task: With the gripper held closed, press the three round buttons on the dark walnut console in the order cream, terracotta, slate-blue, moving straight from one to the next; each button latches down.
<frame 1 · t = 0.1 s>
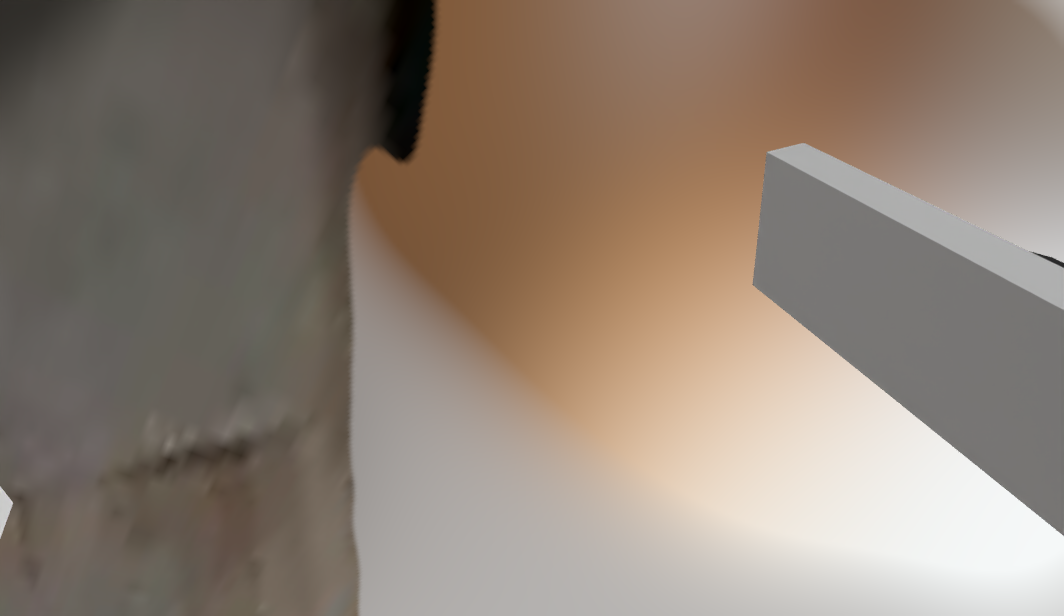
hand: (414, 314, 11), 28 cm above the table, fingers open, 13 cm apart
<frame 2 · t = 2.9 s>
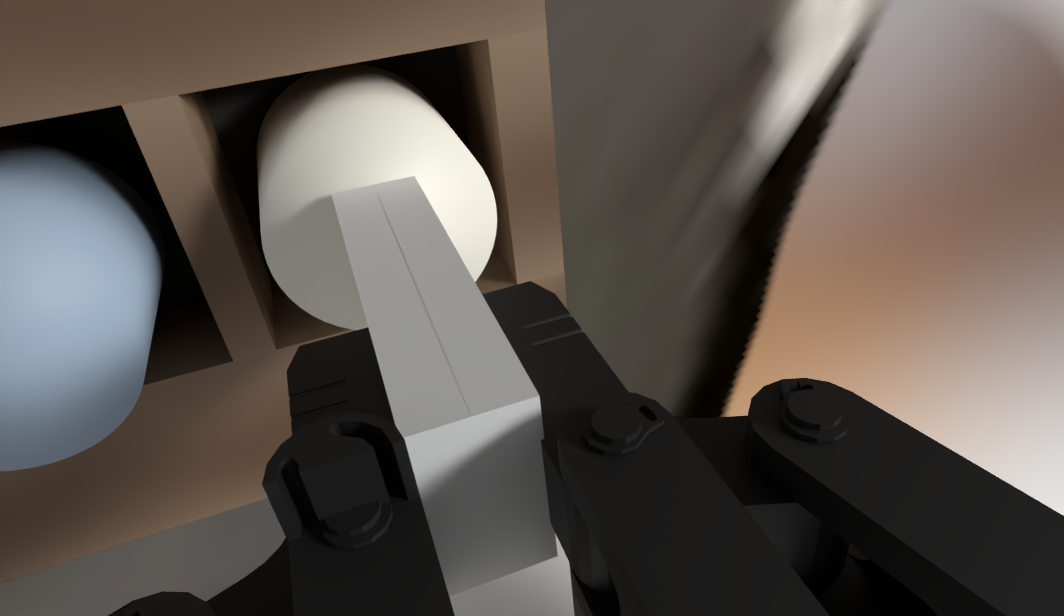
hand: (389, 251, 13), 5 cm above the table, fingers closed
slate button: (15, 299, 12), point 4 cm above the table, slide at 0.0 cm
console: (57, 218, 15), on the table
cream button: (370, 193, 15), point 2 cm above the table, slide at 1.1 cm
water bottle: (510, 477, 24), on the table
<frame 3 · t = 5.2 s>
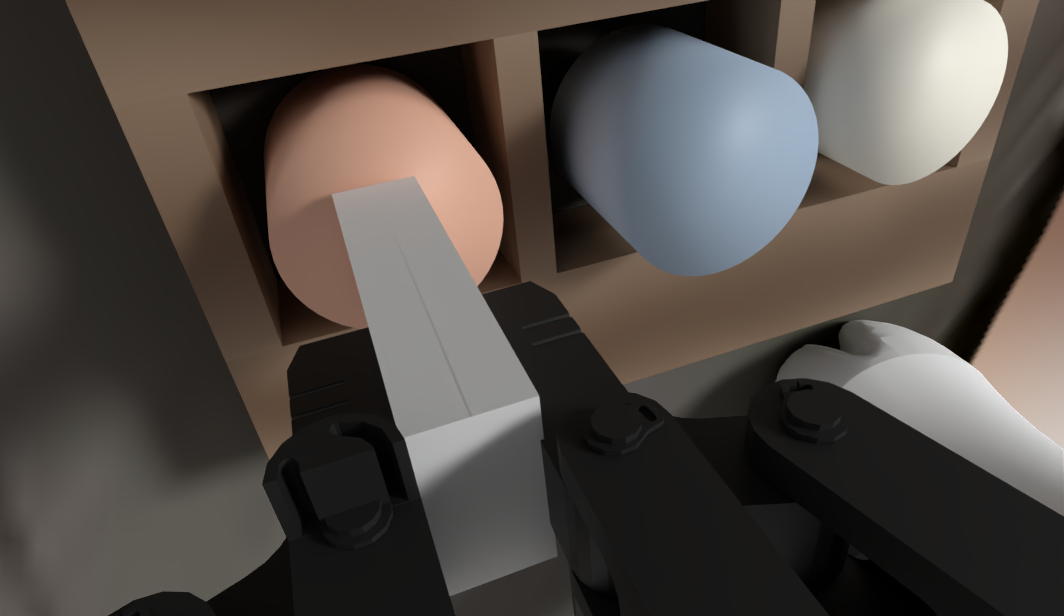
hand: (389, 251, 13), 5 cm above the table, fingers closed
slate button: (673, 146, 15), point 4 cm above the table, slide at 0.0 cm
console: (607, 102, 18), on the table
cream button: (869, 76, 18), point 2 cm above the table, slide at 1.4 cm
water bottle: (820, 374, 27), on the table
terracotta button: (376, 192, 15), point 2 cm above the table, slide at 1.1 cm
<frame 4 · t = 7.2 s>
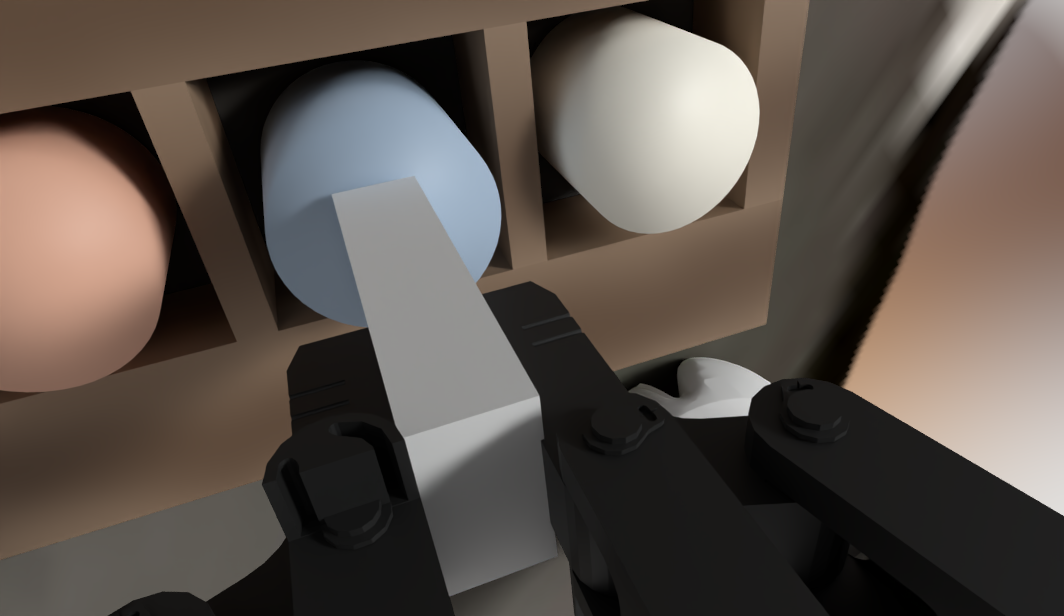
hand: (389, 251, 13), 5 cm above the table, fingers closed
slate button: (373, 189, 14), point 3 cm above the table, slide at 0.5 cm, touching gripper
console: (355, 143, 17), on the table
cream button: (632, 116, 17), point 2 cm above the table, slide at 1.4 cm
water bottle: (667, 411, 26), on the table
terracotta button: (46, 243, 14), point 2 cm above the table, slide at 1.4 cm
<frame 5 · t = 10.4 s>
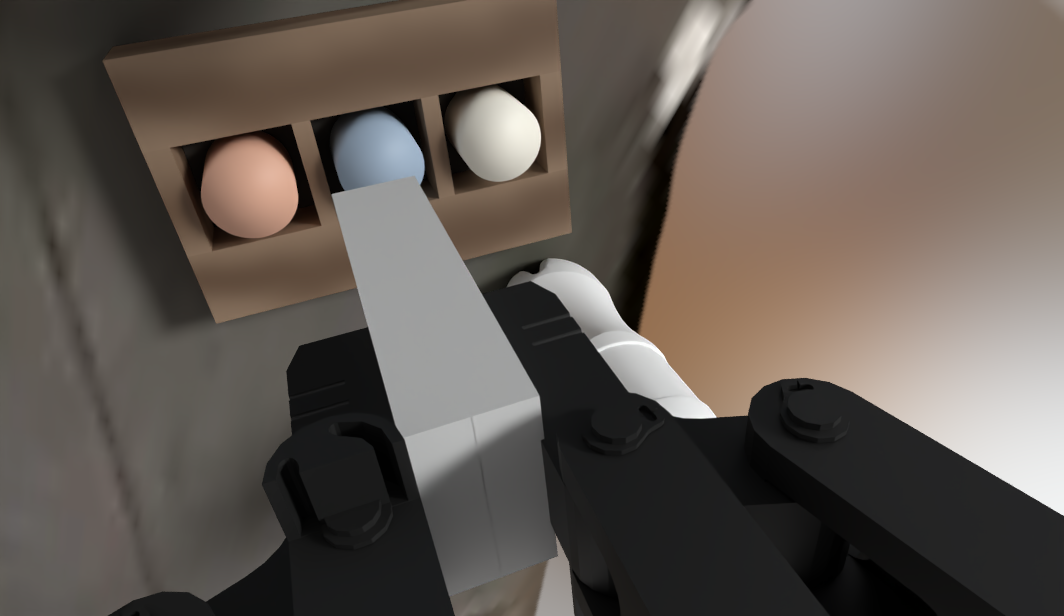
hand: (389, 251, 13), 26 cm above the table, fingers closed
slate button: (375, 155, 37), point 2 cm above the table, slide at 1.4 cm
console: (370, 143, 38), on the table
cream button: (491, 131, 38), point 2 cm above the table, slide at 1.4 cm
water bottle: (540, 292, 48), on the table
terracotta button: (250, 182, 35), point 2 cm above the table, slide at 1.4 cm
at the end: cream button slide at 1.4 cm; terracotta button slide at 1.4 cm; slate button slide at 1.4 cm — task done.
